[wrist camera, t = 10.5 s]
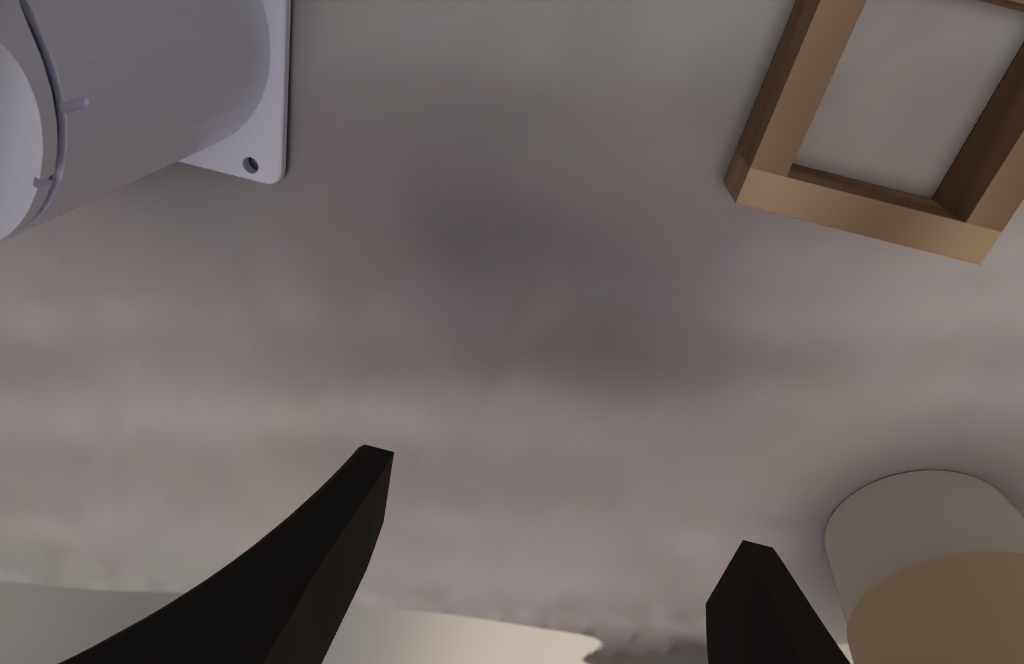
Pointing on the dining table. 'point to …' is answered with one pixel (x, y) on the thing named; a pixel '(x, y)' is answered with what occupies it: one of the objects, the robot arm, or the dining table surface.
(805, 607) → the robot arm
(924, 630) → the coffee cup
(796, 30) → the collar
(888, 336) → the dining table surface
